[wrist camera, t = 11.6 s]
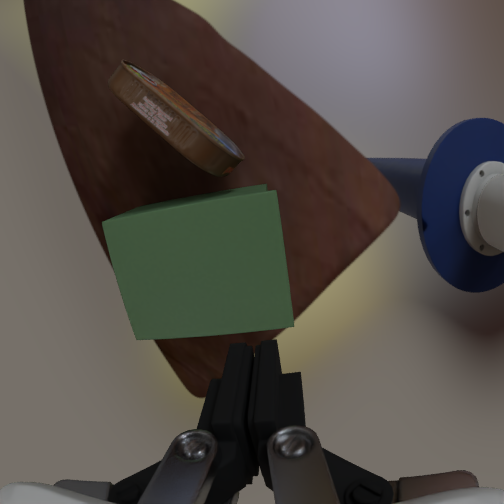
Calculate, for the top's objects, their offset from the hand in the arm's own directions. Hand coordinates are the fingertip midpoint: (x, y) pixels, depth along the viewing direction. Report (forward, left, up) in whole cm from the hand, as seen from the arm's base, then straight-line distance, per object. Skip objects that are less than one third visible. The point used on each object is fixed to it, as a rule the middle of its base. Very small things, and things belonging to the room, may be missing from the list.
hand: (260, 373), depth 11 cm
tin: (+6, -13, -22) cm, 27 cm away
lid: (+6, 0, -14) cm, 15 cm away
